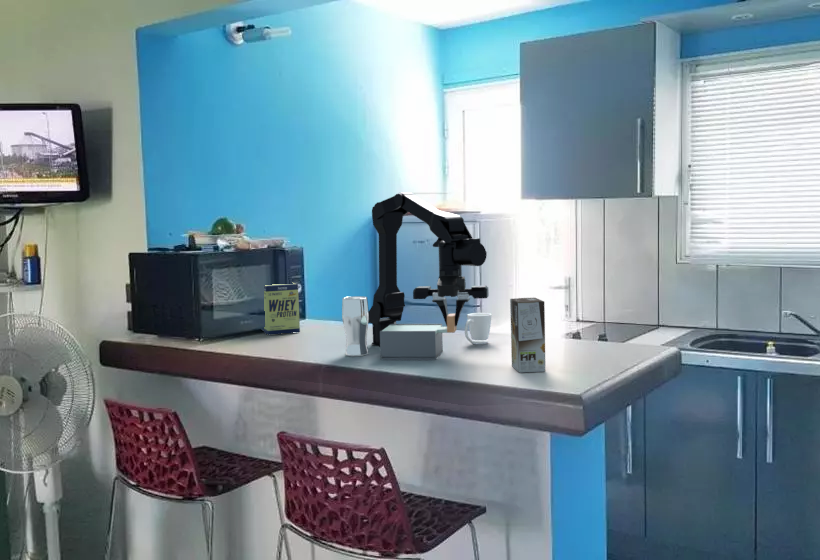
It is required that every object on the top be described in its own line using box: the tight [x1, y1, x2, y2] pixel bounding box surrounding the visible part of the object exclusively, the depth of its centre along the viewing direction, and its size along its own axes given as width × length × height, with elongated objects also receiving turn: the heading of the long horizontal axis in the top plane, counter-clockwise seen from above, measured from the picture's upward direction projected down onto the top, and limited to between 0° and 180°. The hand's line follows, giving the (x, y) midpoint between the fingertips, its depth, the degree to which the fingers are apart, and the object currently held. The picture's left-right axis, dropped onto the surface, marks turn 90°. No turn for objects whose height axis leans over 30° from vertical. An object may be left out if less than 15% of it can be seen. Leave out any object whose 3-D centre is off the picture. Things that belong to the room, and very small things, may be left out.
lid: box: [382, 313, 458, 335], centre depth 206 cm, size 18×11×4 cm, turn 80°
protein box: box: [263, 282, 301, 336], centre depth 257 cm, size 10×16×16 cm
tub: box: [379, 323, 444, 361], centre depth 206 cm, size 14×13×7 cm
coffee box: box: [509, 297, 546, 373], centre depth 184 cm, size 9×6×16 cm
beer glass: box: [341, 295, 370, 357], centre depth 210 cm, size 7×7×15 cm
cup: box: [464, 312, 493, 345], centre depth 221 cm, size 7×10×8 cm
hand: (451, 326), depth 204 cm, fingers closed on lid, 2 cm apart
